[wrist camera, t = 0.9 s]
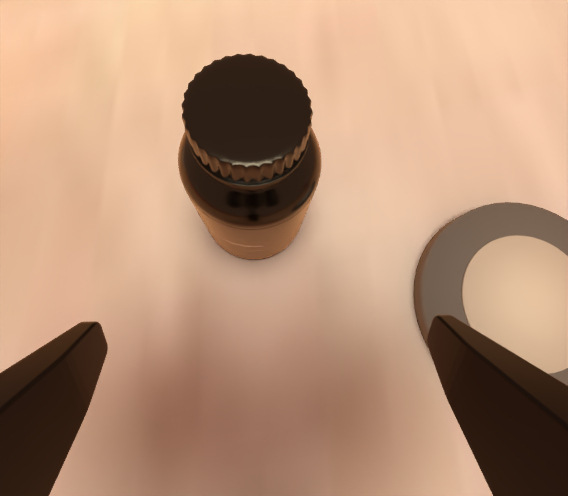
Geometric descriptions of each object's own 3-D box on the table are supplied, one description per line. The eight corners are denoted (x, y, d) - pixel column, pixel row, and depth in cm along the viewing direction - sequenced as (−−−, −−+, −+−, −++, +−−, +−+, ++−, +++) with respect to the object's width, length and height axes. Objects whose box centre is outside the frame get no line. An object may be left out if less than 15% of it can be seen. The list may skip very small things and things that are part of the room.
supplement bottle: (223, 274, 22) (174, 220, 10) (196, 187, 23) (126, 52, 12) (316, 244, 23) (367, 162, 11) (284, 161, 24) (301, 11, 13)
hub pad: (503, 456, 20) (524, 468, 19) (374, 271, 23) (383, 267, 21) (646, 334, 23) (676, 334, 21) (516, 178, 25) (534, 167, 23)
